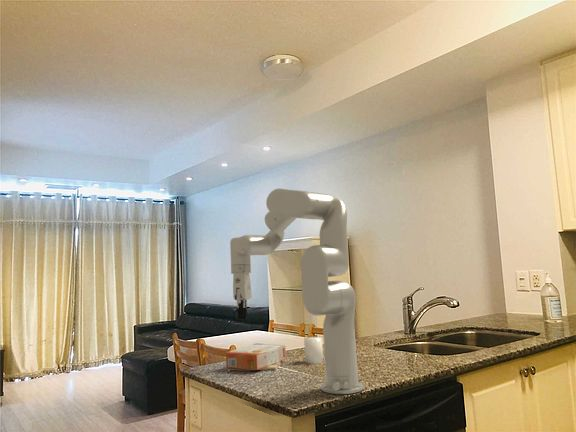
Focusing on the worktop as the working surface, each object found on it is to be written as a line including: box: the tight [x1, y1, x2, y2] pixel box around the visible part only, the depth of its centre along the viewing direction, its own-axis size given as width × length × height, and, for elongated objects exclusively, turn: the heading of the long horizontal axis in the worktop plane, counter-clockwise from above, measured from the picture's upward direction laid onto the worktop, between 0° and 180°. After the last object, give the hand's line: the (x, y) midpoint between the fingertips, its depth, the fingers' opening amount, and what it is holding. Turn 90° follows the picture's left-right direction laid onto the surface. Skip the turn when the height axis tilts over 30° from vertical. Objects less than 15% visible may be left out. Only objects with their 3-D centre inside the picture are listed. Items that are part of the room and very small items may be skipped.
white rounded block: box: [303, 336, 324, 365], centre depth 170 cm, size 7×7×9 cm
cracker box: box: [225, 342, 287, 370], centre depth 167 cm, size 14×6×21 cm
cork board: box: [226, 360, 283, 371], centre depth 167 cm, size 16×18×1 cm
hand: (242, 318), depth 164 cm, fingers closed
